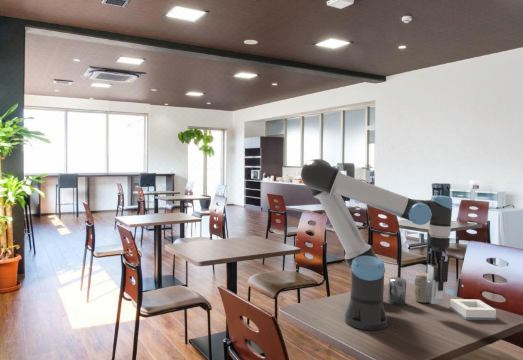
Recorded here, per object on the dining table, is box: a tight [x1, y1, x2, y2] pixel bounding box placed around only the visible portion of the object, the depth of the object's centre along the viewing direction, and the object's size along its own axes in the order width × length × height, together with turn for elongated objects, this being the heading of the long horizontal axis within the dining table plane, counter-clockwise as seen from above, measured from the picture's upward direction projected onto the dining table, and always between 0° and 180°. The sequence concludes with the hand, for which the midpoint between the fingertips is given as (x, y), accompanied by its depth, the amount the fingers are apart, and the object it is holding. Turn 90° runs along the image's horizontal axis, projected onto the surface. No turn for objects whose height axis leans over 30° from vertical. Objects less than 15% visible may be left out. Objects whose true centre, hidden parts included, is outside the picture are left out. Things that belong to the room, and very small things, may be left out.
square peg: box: [425, 264, 447, 305], centre depth 160 cm, size 5×5×14 cm
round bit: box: [387, 276, 407, 307], centre depth 176 cm, size 7×7×10 cm
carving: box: [413, 272, 429, 304], centre depth 179 cm, size 6×8×12 cm
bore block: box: [449, 298, 497, 321], centre depth 166 cm, size 12×12×4 cm
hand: (435, 295), depth 161 cm, fingers closed on square peg, 5 cm apart
